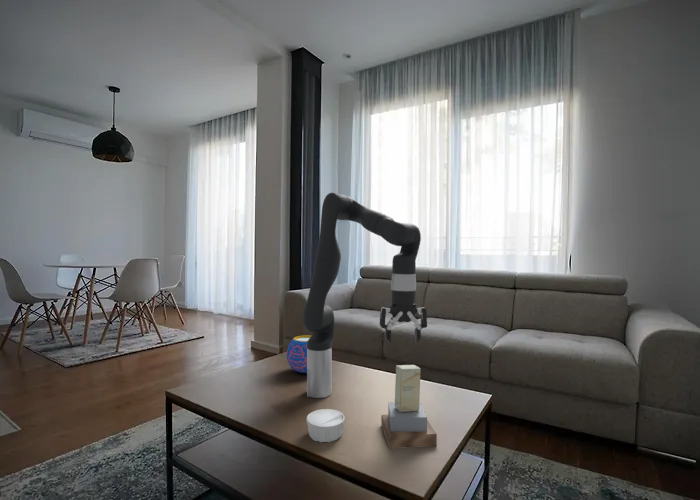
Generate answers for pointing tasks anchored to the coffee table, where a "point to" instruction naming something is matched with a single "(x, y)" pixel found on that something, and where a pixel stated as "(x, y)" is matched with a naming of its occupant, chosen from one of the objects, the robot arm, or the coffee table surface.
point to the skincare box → (407, 388)
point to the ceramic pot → (298, 353)
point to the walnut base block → (408, 436)
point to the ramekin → (325, 425)
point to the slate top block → (407, 419)
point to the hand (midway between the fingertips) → (403, 341)
